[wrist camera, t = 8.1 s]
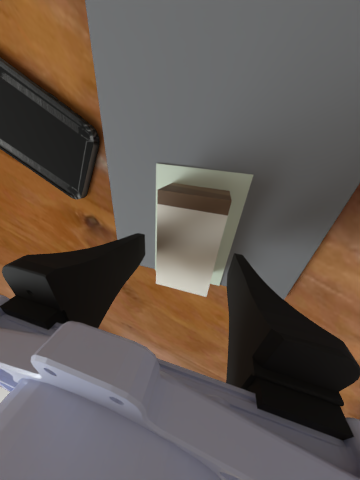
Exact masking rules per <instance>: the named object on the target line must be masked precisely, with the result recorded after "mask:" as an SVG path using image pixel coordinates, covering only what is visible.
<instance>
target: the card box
mask: <svg viewBox="0 0 360 480" xmlns="http://www.w3.org/2000/svg"><path fill="white" fill-rule="evenodd" d="M231 202H232V200H231V195H230V191H227V190H220V189H213V188H206V187H198V186H191V185H184V184H177V183H171V184H169V185H166V186H164V187H162V188H160V189H158V193H157V253H156V284H160V285H163V286H167V287H171V288H175V289H179V290H182V291H186V292H190V293H194V294H198V295H201V296H205V297H206V296H207V292H208V289H209V285H210V281H211V277H212V274H213V270H214V266H215V262H216V258H217V255H218V251H219V247H220V243H221V239H222V236H223V232H224V228H225V224H226V221H227V217H228V213H229V209H230V205H231Z"/></svg>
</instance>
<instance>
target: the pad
mask: <svg viewBox="0 0 360 480" xmlns="http://www.w3.org/2000/svg"><path fill="white" fill-rule="evenodd" d="M252 178H253V175H252V174H243V173H235V172H226V171H218V170H209V169H200V168H192V167H183V166H175V165H166V164H158V163H156V230H155V270H156V253H157V193H158V189H160V188H162V187H164V186H166V185H169V184H171V183H177V184H184V185H191V186H198V187H206V188H213V189H220V190H227V191H230V195H231V200H232V202H231V205H230V209H229V213H228V217H227V221H226V224H225V228H224V232H223V236H222V239H221V243H220V247H219V251H218V255H217V258H216V262H215V266H214V270H213V274H212V277H211V281H210V284H214V285H218V286H219V285H220V282H221V279H222V275H223V272H224V269H225V266H226V262H227V259H228V256H229V253H230V250H231V246H232V243H233V240H234V237H235V233H236V230H237V227H238V224H239V220H240V217H241V214H242V211H243V207H244V204H245V201H246V198H247V194H248V191H249V188H250V185H251V181H252Z"/></svg>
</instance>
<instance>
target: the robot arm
mask: <svg viewBox="0 0 360 480" xmlns="http://www.w3.org/2000/svg"><path fill="white" fill-rule="evenodd" d="M144 256H145V234H140V233H136V234H133V235H130V236H127V237H124V238H121V239H119V240H116V241H113V242H110V243H107V244H103V245H100V246H96V247H92V248H88V249H82V250H77V251H71V252H63V253H53V254H37V255H26V256H23V257H21V258H19V259H17V260H15V261H13V262H11V263H9V264H7V265H5V266H4V267H3V270H2V273H3V276H4V278H5V280H6V281H7V283H8V284H9V286H10V287H11V289H12V290H13V292H14V293H15V295H16V296H15V297H13V298H12V299H9V298H7V297H6V296H3V295H0V387H2V388H4V389H6V390H8V391H9V392H10V393H9V394H8V395H7V396H6V397H5V399H4V400H3V401H2V402H1V403H0V480H360V420H359V419H355V418H345V416H344V414H343V412H342V410H341V408H340V406H343V405H344V402H343V400H342V398H341V396H340V394H339V391H341V390H342V389H344V388H346V387H347V386H349V385H351V384H353V383H354V382H355V381H356V380H358V378H359V376H360V367H359V365H358V363H357V362H356V360H355V359H354V357H353V356H352V354H351V353H350V351H349V350H348V348H347V347H346V345H345V344H344V342H343V341H342V340H340V339H338V338H337V337H335V336H334V335H332V334H331V333H329V332H327V331H326V330H324V329H323V328H321V327H320V326H318V325H316V324H315V323H314V322H312V321H311V320H309V319H308V318H307V317H305V316H304V315H302V314H301V313H300V312H298V311H297V310H296V309H294V308H293V307H292V306H291V305H289V304H288V303H287V302H286V301H284V300H283V299H282V298H281V297H280V296H279V295H278V294H276V293H275V292H274V291H273V290H272V289H271V288H270V287H269V286H268V285H267V284H266V283H265V282H264V281H263V279H262V278H261V277H260V276H259V275H258V274H257V273H256V271H255V270H254V269H253V268H252V266H251V265H250V264H249V262H248V261H247V260H246V258H245V257H244V256H243V255H241V254H236V253H234V255H233V258H232V261H231V264H230V267H229V270H228V273H227V296H228V308H229V345H228V365H227V380H226V383H224V382H222V381H219V380H216V379H213V378H210V377H208V376H205V375H202V374H199V373H197V372H194V371H191V370H188V369H185V368H183V367H180V366H177V365H174V364H171V363H169V362H166V361H163V360H160V359H158V358H156V356H155V354H153V353H152V352H151V351H150V350H149V349H148V348H147V347H145V346H143V345H141V344H139V343H137V342H135V341H132V340H129V339H126V338H123V337H120V336H118V335H115V334H112V333H109V332H106V331H103V330H100V329H98V327H99V325H100V323H101V322H102V320H103V318H104V316H105V314H106V313H107V311H108V309H109V307H110V306H111V304H112V302H113V301H114V299H115V297H116V296H117V294H118V293H119V291H120V289H121V288H122V287H123V285H124V284H125V283H126V281H127V280H128V279H129V277H130V276H131V275H132V274H133V272H134V271H135V270H136V269H137V267H138V266H139V265H140V263H141V262H142V260H143V258H144Z"/></svg>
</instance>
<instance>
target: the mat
mask: <svg viewBox="0 0 360 480" xmlns="http://www.w3.org/2000/svg"><path fill="white" fill-rule="evenodd" d="M85 2H86V10H87V17H88V25H89V32H90V39H91V47H92V54H93V62H94V69H95V76H96V84H97V91H98V99H99V106H100V113H101V121H102V128H103V136H104V143H105V150H106V158H107V165H108V173H109V180H110V188H111V195H112V202H113V210H114V217H115V225H116V232H117V239H118V240H119V239H121V238H124V237H127V236H130V235H133V234H136V233H140V234H145V256H144V258H143V260H142V262H141V263H140V265H141V266H145V267H149V268H153V269H155V230H156V163H158V164H166V165H175V166H183V167H192V168H200V169H209V170H218V171H226V172H235V173H243V174H252V175H253V178H252V181H251V185H250V188H249V191H248V194H247V198H246V201H245V204H244V207H243V211H242V214H241V217H240V220H239V224H238V227H237V230H236V233H235V237H234V240H233V243H232V246H231V250H230V253H229V256H228V259H227V262H226V266H225V269H224V272H223V275H222V279H221V282H220V285H223V286H227V273H228V270H229V267H230V264H231V261H232V258H233V255H234V253H236V254H241V255H243V256H244V257H245V258H246V260H247V261H248V262H249V264H250V265H251V266H252V268H253V269H254V270H255V271H256V273H257V274H258V275H259V276H260V277H261V278H262V279H263V281H264V282H265V283H266V284H267V285H268V286H269V287H270V288H271V289H272V290H273V291H274V292H275V293H276V294H278V295H279V296H280V297H281V298H282V299H283V300H284V299H285V297H286V296H287V294H288V293H289V291H290V290H291V288H292V286H293V285H294V283H295V282H296V280H297V279H298V277H299V276H300V274H301V273H302V271H303V270H304V268H305V266H306V265H307V263H308V262H309V260H310V259H311V257H312V256H313V254H314V253H315V251H316V250H317V248H318V247H319V245H320V243H321V242H322V240H323V239H324V237H325V236H326V234H327V233H328V231H329V230H330V228H331V227H332V225H333V223H334V222H335V220H336V219H337V217H338V216H339V214H340V213H341V211H342V210H343V208H344V207H345V205H346V203H347V202H348V200H349V199H350V197H351V196H352V194H353V193H354V191H355V190H356V188H357V187H358V185H359V183H360V0H85Z"/></svg>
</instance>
